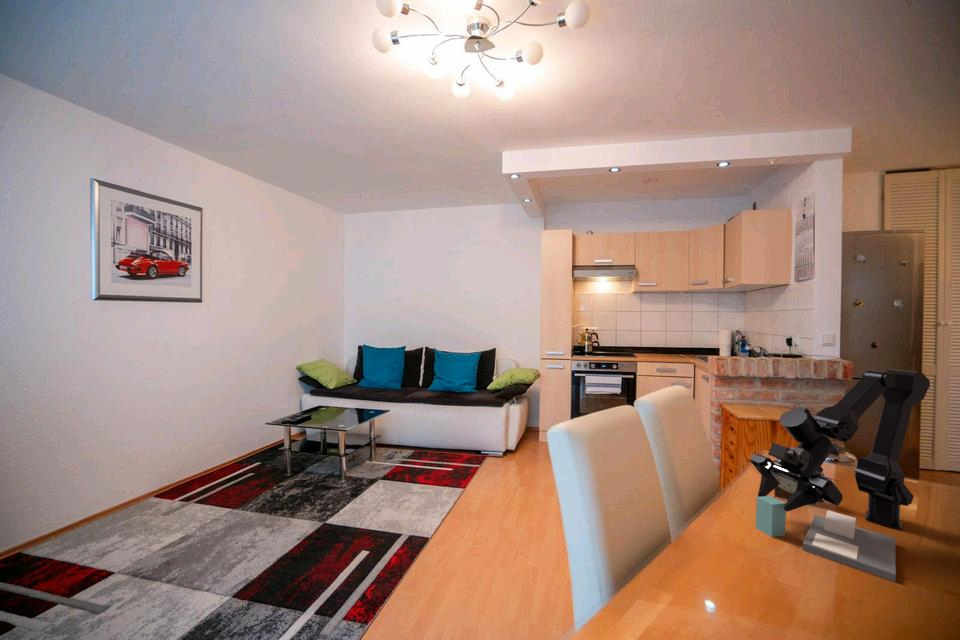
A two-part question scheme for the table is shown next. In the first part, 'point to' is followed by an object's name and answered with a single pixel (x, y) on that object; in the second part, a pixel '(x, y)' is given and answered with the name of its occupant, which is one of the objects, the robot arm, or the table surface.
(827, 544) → the building board
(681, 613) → the table surface
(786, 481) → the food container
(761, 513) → the pillar
